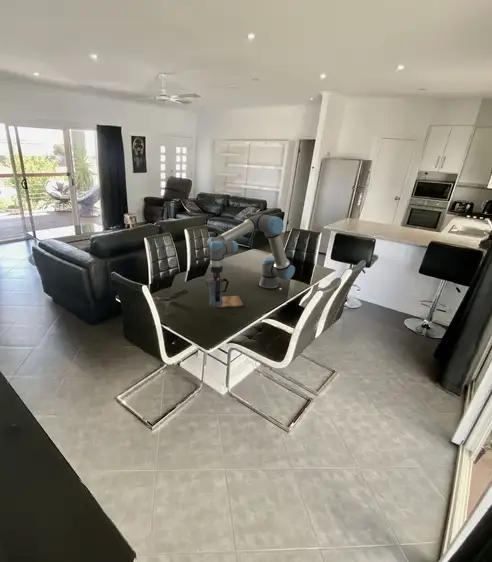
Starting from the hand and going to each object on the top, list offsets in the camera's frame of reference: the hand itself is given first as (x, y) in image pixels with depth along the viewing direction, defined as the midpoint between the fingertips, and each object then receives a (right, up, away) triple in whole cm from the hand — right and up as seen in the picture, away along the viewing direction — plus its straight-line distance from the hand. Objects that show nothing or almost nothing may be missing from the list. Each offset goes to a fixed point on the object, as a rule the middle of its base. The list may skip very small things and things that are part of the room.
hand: (216, 298), depth 209 cm
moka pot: (0, -4, +2) cm, 4 cm away
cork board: (+10, -4, +23) cm, 25 cm away
